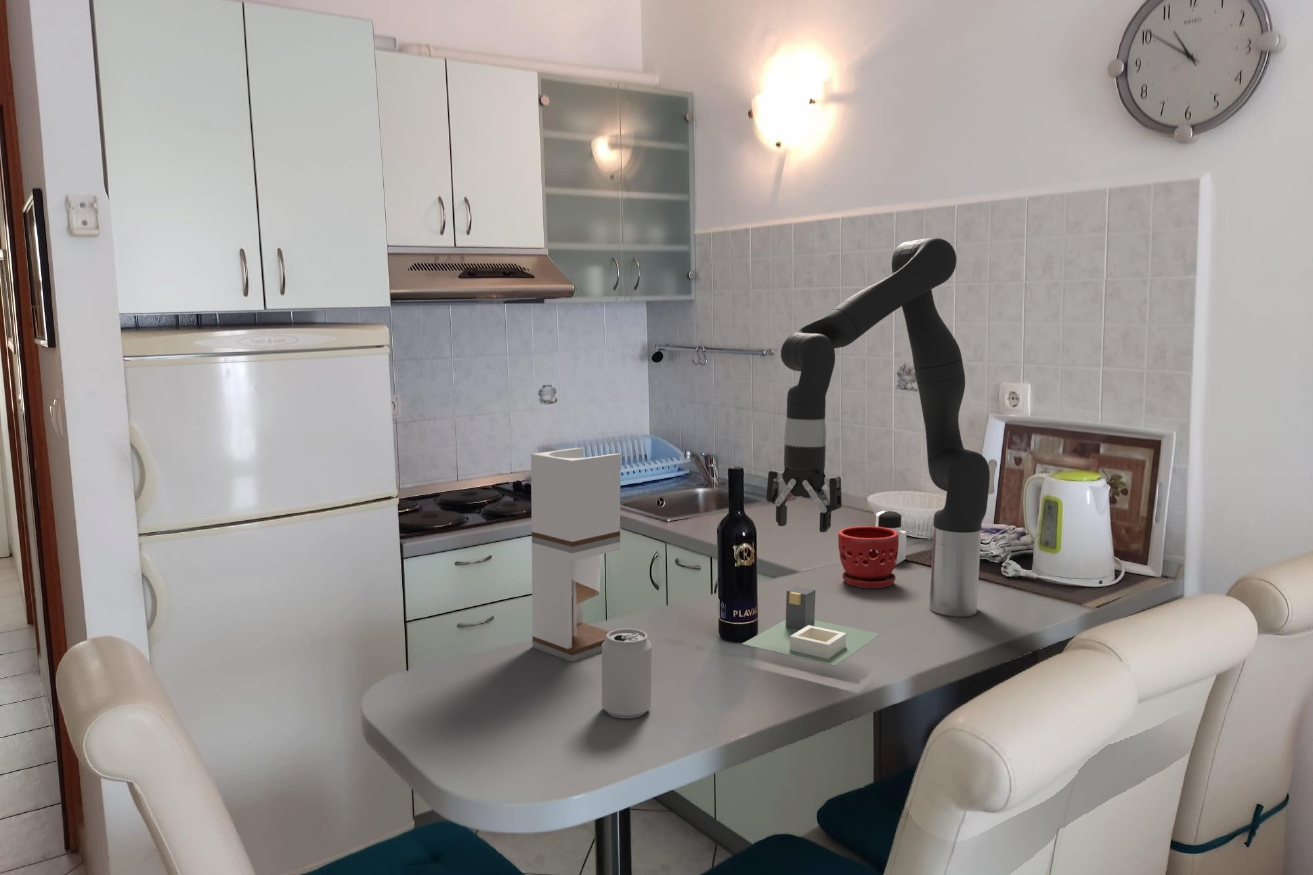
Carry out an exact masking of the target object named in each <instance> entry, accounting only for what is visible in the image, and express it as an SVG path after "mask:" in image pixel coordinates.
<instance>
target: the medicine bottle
mask: <svg viewBox="0 0 1313 875" xmlns="http://www.w3.org/2000/svg"><path fill="white" fill-rule="evenodd" d="M875 527H883V528H889V529H892V530H895V531H896V532H898V536H899V545H898V556H897V561H896V564H895V566H897V565H898V564H900V563H902V562H904V561H905V559H906V552H907V531H905V530H902V514H901V513H898V512H897V511H891V510H882V511H881V510H880V511H879V512H877V513H876V514H875ZM870 551H872V550H870ZM876 552H877V553H878V551H877V550H876Z"/></svg>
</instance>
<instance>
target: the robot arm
mask: <svg viewBox="0 0 1313 875" xmlns="http://www.w3.org/2000/svg"><path fill="white" fill-rule="evenodd" d="M956 266H957V255H956V251H955V249H954V247H953V245H952V244H951V242H949V241H948V240H946V239H943V238H939V237H926V238H921V239H913V240H908V241H907V240H906V241H904V242H902V243H900V244H899V245H898V246H897V247H896V248H895V249H894V251H893V254H892V257H891V271H892V272H891V273H892V274H891V275H889V276H887V277H886V278H884V279H882V280H880V281H878V282H876V283H874V284H872V285H869V286H868V287H865V288H864V289H862V290H860V291H858V292H856V293H854V294H852V295H851V296H850V297H848V298H846V300H843V301H842V302H841V303H840V304H838V305H836V306H835V307H834V308H833V309H832V310H830V311H829V312H828V313H826V314H825V315H824V316H822V317H820V318H818V319H815V320H814V321H812V322H810V323H809V324H808V323H807V324H806V325H804V326H802V327H800V328H799V329H797V330H794V332H793V333H791V334H790V335H789V336H788V337H787V338H786V339H785V341H784V342H783V343H782V346H781V348H780V358H781V361H782V363H783V364H784V366H785V367H786V368H788V369H789V370H792V371H794V372H800V374H799V380H798V383H797V384H796V385H793V386H791V387H790V388H789V389H788V391H787V396H786V420H785V426H784V437H783V440H784V445H783V446H784V450H783V451H784V452H783V453H784V454H783V465H784V466H783V467H784V470H783V471H781V470H779V469H778V468H777V469H773V470H769V471H768V474H767V486H766V498H765V499H766V502H768V503H772V504H774V505H775V521H776V523H777V526H778V527H784V526H787V523H788V505H786V504H787V503H788V502H789V501H790V499H791V497H798V498H799V497H803V498H805V499H810V498H811V499H812V500H813V502H814V503H815V504H816V505H817V506H818V508H819V509H820V511H821V512H819V533H826V532H828V530H829V529H831V526H832V512H833V511H836V510H838V509H841V508H842V505H843V503H842V502H843V501H842V478H841V476H839V475H836V476H827V475H826V473H825V467H826V447H827V445H826V444H827V443H826V442H827V427H826V426H827V425H826V401H827V399H826V398H827V394H828V393H827V392H828V390H829V386H830V384H831V380H832V376H833V372H834V368H835V363H836V351H835V349H839V348H845V347H848V346H849V345H851V344H852V343H853V342H856V340H857V339H859V338H860V337H862V336H863V335H865V333H867V332H868V331H869V330H871V329H872V328H873V327H874V326H876V325H877V324H878V323H880V322H881V321H882V320H884V319H885V318H886V317H888V316H889V315H891V314H892V313H894V312H895V311H896V310H898V309H900V308H901V309H902V312H903V316H904V321H905V324H906V329H907V330H906V331H907V334H908V340H909V343H910V344H909V345H910V351H911V356H912V362H913V363H912V364H913V370H914V375H915V381H916V384H917V389H918V393H919V400H920V406H921V411H922V413H921V414H922V418H923V423H924V428H925V437H926V438H925V441H926V455H927V456H926V457H927V468H928V473H929V477H930V479H931V481H932V483H933V484H934V485H935V486H936V487H937V488H938V489H940V490H942V491H944V492H946V495H945V496H946V497H945V503H944V507H943V508H942V509H938V510H937V511H935V512H934V515H933V528H932V531H933V532H932V548H931V549H932V550H931V552H932V553H931V569H930V571H931V572H930V588H929V589H930V590H929V610H931V611H932V612H934V613H936V614H939V615H943V616H948V617H970V616H973V615H975V614H977V612H978V611H977V610H978V609H977V607H978V594H979V592H978V591H979V578H980V577H979V576H980V575H979V574H980V573H979V572H980V561H981V560H980V558H981V556H980V555H981V538H982V537H981V536H982V535H981V534H982V524H983V521H984V519H985V517H986V515H987V509H988V503H989V502H988V501H989V500H988V499H989V491H990V490H989V489H990V482H991V481H990V480H991V478H990V477H991V474H990V473H991V472H990V465H989V463H988V461H987V459H986V458H985V456H983V454H981V453H979V452H977V451H973V450H970V449H966V448H964V445H963V444H964V443H963V440H962V436H961V431H960V423H959V418H960V417H959V416H960V415H959V414H960V409H961V405H962V402H963V398H964V394H965V391H966V390H965V389H966V388H965V387H966V375H965V368H964V362H963V358H962V352H961V349H960V347H959V343H958V342H957V341H956V338H955V337H954V335H953V333H952V332H951V331H950V329H949V328H948V327H947V325H946V324H945V322H944V320H943V319H942V317H941V315H940V313H939V312H938V310H937V307H936V304H935V300H934V296H933V289H935V288H937V287H939V286H940V285H942V284H944V283H945V282H947V281H948V280H949V279H950V278H951V277H952V276H953V274H954V272H955V270H956ZM782 480H783V482H784V484H785V487H784V488H783V489H782V491H781V492H780V494H779V490H780V489H779V488H780V482H781V481H782ZM825 484H826V486H827V489H828V490H829V498H828V495H827V493H826V492H825V489H824V486H825Z"/></svg>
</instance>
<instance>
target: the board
mask: <svg viewBox="0 0 1313 875" xmlns="http://www.w3.org/2000/svg"><path fill="white" fill-rule="evenodd" d="M880 635H881V633H879V632H878V633H877V632H875V631H874V632H873V631H868V630H865V629H858V628H855V627H849V626H844V625H841V624H836V623H831V622H825V621H820V620H817V619H815V620H814V626H810V625H808V626H806V627H805V628H803V629H801V630H797V629H793V628H788V627H786V619H784V620H782V621H780V622H779V623H777V624H775V625H773V626H771V627H770V628H768V629H766V630H764V631H763V632H760V633H759V634H757V635H755V636H754V637H751V638H749V639H748V640H746V641H744V642H743V643H741V645H743V646H744V645H745V646H748V647H753V648H757V649H761V650H766V651H770V652H773V653H778V654H781V655H787V656H790V657H795V658H798V659H799V658H800V659H803V660H808V661H812V662H817V663H820V664H824V665H828V666H829V665H830V666H832V667H833V666H834V667H836V666H837V665H839V664H840V663H842V662H843V661H844V660H845V659H847V658H849V657H850V656H851V655H853V654H855V653H856V652H857V651H859V650H860V649H862V648H864V647H865V646H866V645H868V643H870V642H871V641H873V640H874V639H876V638H877V637H879V636H880Z"/></svg>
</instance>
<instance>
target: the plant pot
mask: <svg viewBox="0 0 1313 875" xmlns="http://www.w3.org/2000/svg"><path fill="white" fill-rule="evenodd" d="M837 535H838V537H837V538H838V540H837V541H838V544H837V545H838V551H839V552H838V553H839V558H840V562H841V565H842V568H843V569H844V572H842V574H841V576H842V579H843V580H844V582H845V583H847V584H848V585H850V586H853V587H856V588H861V589H864V590H865V589H882V588H887V587H889V586H891V585H892V584H894V583H895V582H896V574H895V573H893V571H894V568H895V566H896V565H895V564H896V561H897V556H898V545H899V536H898V532H896V531H895V530H892V529H889V528H883V527H876V526H873V525H872V526H871V525H869V526H868V525H867V526H866V525H863V526H850V527H846V528H842V529H840V530H839V532H838V534H837ZM870 550H872V551H870ZM876 550H877V551H878V553H877V552H876Z"/></svg>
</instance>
